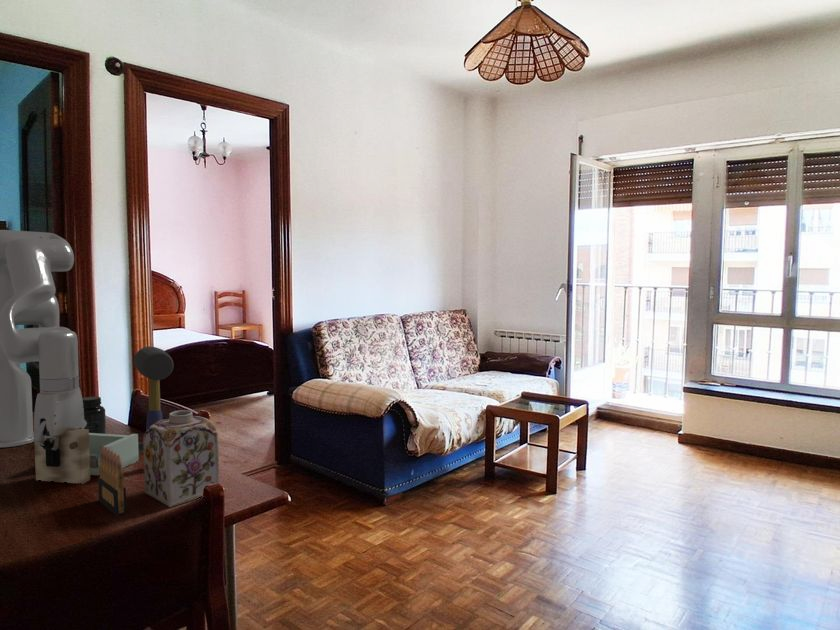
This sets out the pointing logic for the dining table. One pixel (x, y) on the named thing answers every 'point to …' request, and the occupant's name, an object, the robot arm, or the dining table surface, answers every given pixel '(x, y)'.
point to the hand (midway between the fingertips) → (62, 461)
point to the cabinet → (113, 449)
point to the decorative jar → (180, 458)
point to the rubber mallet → (153, 377)
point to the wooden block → (66, 459)
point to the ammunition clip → (111, 482)
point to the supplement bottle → (94, 415)
